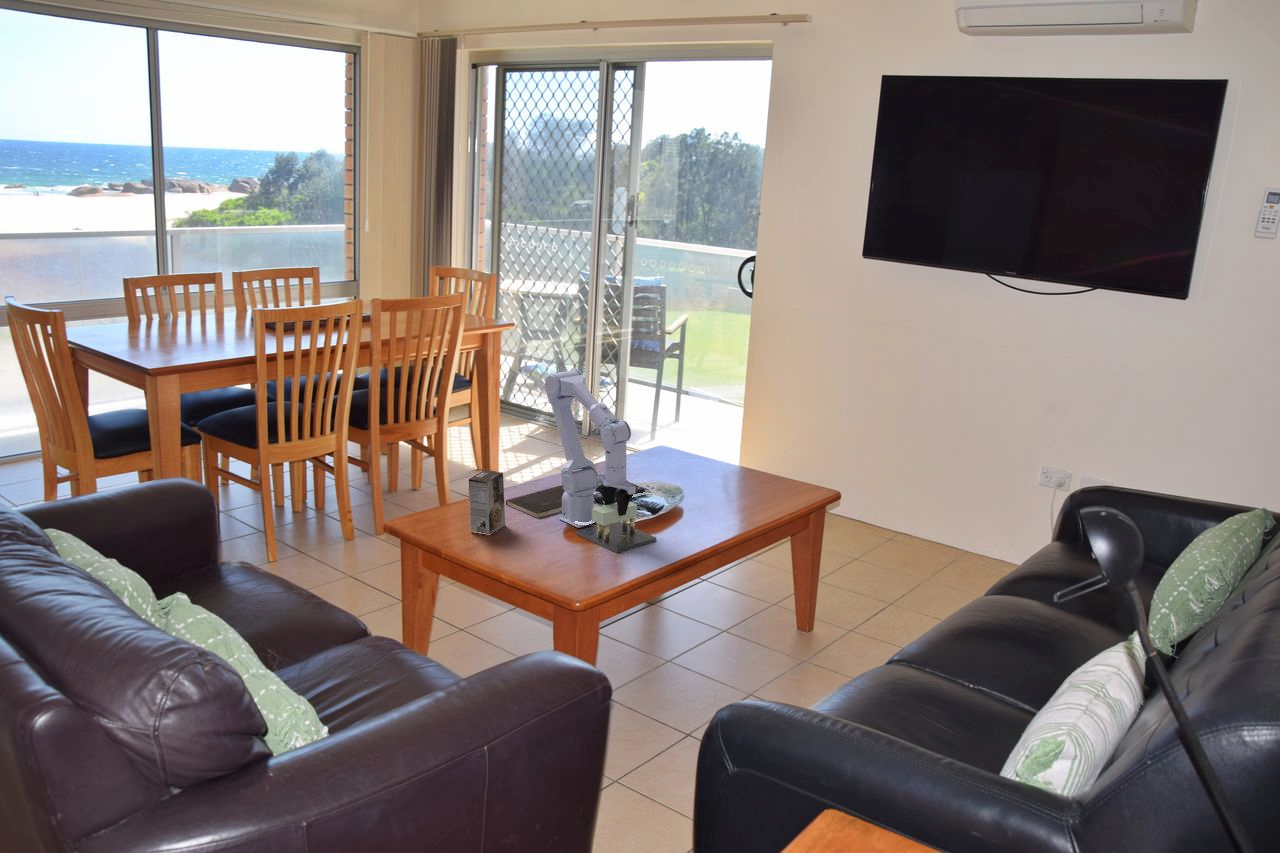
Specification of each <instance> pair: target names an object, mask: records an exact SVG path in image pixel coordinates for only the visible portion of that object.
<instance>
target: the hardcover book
mask: <svg viewBox="0 0 1280 853" xmlns="http://www.w3.org/2000/svg"><path fill="white" fill-rule="evenodd" d="M564 492H565V490H564V489H563V486H562V484H561V485H557V486H554V487H550V488H546V489H543V490H539V491H535V492H531V493H527V494H524V495H520V496H516V497H513V498H509V499H505V505H506V506H509V507H511V508H514V509H516V510H518V511H520V512H523V513H526V514H528V515H530V516H532V517H533V518H534V517H535V518H538V519H539V518H542V517H546V516H549V515H552V514H557V513H560V512H562V496H563V494H564ZM596 495H597V494H594V498H595V497H596ZM596 498H597V497H596Z"/></svg>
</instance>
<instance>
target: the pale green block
mask: <svg viewBox="0 0 1280 853" xmlns="http://www.w3.org/2000/svg"><path fill="white" fill-rule="evenodd" d="M637 517H638V504H637V503H634V502H632V501H630V502H629V504H628V508H627V512H626V515H623V516H619V514H618V506H617V502H614V503H613V504H609V505H605V504H604V505H601V506H598V507H594V508H593V509H592V521H594V522H596V523H595V524H597V523H598V524H600V525H603V526H604V525H608V524H612V523H615V522H622V521H623V520H627V521H628V520H630V518H637Z"/></svg>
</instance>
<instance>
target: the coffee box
mask: <svg viewBox="0 0 1280 853" xmlns="http://www.w3.org/2000/svg"><path fill="white" fill-rule="evenodd" d="M468 491H469V492H468V494H469V496H468V497H469V513H470V514H469V515H470V532H471V531H476V532H481V533H486V534H491V533H493V532H495V531H496V532H498V531H499V530H500V529H501V528H503V527H505V526H506V517H505V516H506V514H505V492H504V491H505V489H504V472H500V471H495V470H488V469H483V470H481V471H480V472H478V473H476V474H474V475H473V476H471V477H469V478H468ZM498 529H499V530H498ZM496 532H495V533H496ZM493 534H494V533H493Z"/></svg>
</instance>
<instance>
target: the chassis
mask: <svg viewBox="0 0 1280 853" xmlns="http://www.w3.org/2000/svg"><path fill="white" fill-rule="evenodd" d="M635 518H636V517H634V518H630V519H629V524H628V519H627V520H623V521H619V522H615V523H612V524H608V525H604V526H603V525H600V524H598V523H596V525H595V524H594V525H593V526H589V527H588V526H587V527H585V528H581V529H578V530H576V532H575V534H576V535H578V536H579V537H582V538H583V539H586V540H587V541H589V542H592V543H594V544H597V545H599V546H601V547H603V548H604V549H607V550H609V551H611V552H613V553H616V554H618V553H621V552H622V553H623V552H625V551H628V550H631V549H634V548H638V547H640V546H644V545H648V544H650V543H654V542H656V541H657V537H656V536H654V535H651V534H649V533H647V532H644V531H642V530H640V529H638V528H635V526H636V524H635V523H636V522H635V521H636V520H635Z"/></svg>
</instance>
